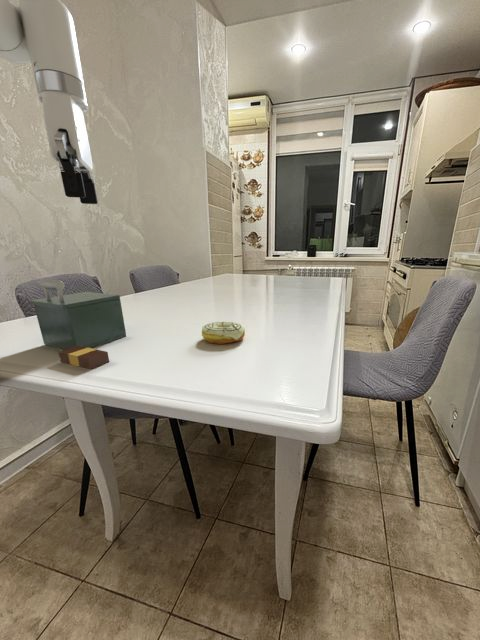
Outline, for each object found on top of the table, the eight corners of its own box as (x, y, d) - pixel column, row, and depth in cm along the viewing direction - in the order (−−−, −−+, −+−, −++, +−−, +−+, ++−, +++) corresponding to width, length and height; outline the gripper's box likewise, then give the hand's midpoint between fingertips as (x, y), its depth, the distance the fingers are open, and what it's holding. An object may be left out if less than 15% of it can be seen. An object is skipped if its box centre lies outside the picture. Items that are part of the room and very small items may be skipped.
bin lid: (63, 309, 60) (57, 282, 58) (28, 304, 65) (21, 279, 63) (120, 298, 72) (116, 276, 70) (87, 294, 76) (83, 274, 75)
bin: (78, 352, 64) (68, 308, 61) (44, 344, 69) (33, 303, 65) (126, 336, 75) (120, 298, 72) (94, 330, 80) (87, 295, 77)
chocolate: (60, 361, 59) (57, 351, 58) (80, 355, 63) (78, 345, 62) (90, 369, 55) (88, 358, 55) (109, 361, 59) (107, 351, 58)
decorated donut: (246, 345, 69) (245, 329, 68) (200, 346, 68) (199, 331, 67) (244, 332, 79) (243, 318, 78) (204, 333, 78) (203, 319, 77)
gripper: (56, 111, 59) (75, 205, 65) (14, 64, 43) (44, 193, 49) (97, 116, 61) (111, 206, 67) (71, 72, 45) (93, 195, 51)
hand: (83, 200), depth 58 cm, fingers open, 9 cm apart
